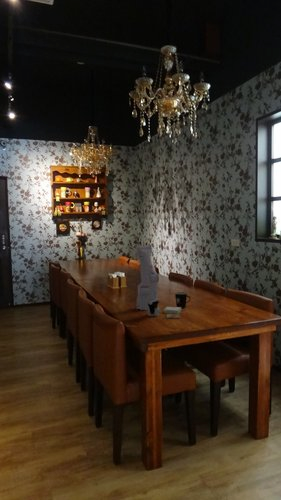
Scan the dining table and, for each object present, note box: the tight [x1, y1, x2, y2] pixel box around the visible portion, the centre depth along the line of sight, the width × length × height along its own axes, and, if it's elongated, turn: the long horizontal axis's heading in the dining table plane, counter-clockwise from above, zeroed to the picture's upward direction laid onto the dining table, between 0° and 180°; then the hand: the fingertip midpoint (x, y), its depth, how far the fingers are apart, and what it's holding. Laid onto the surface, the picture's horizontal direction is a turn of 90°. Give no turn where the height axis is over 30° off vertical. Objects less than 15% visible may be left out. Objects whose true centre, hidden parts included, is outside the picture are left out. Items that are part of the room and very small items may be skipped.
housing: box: [146, 306, 160, 317], centre depth 216 cm, size 7×4×5 cm, turn 72°
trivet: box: [165, 313, 181, 320], centre depth 211 cm, size 8×8×1 cm
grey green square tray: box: [163, 306, 182, 315], centre depth 224 cm, size 10×10×2 cm
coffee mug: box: [174, 291, 192, 309], centre depth 235 cm, size 12×9×10 cm
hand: (153, 313), depth 216 cm, fingers closed on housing, 4 cm apart
